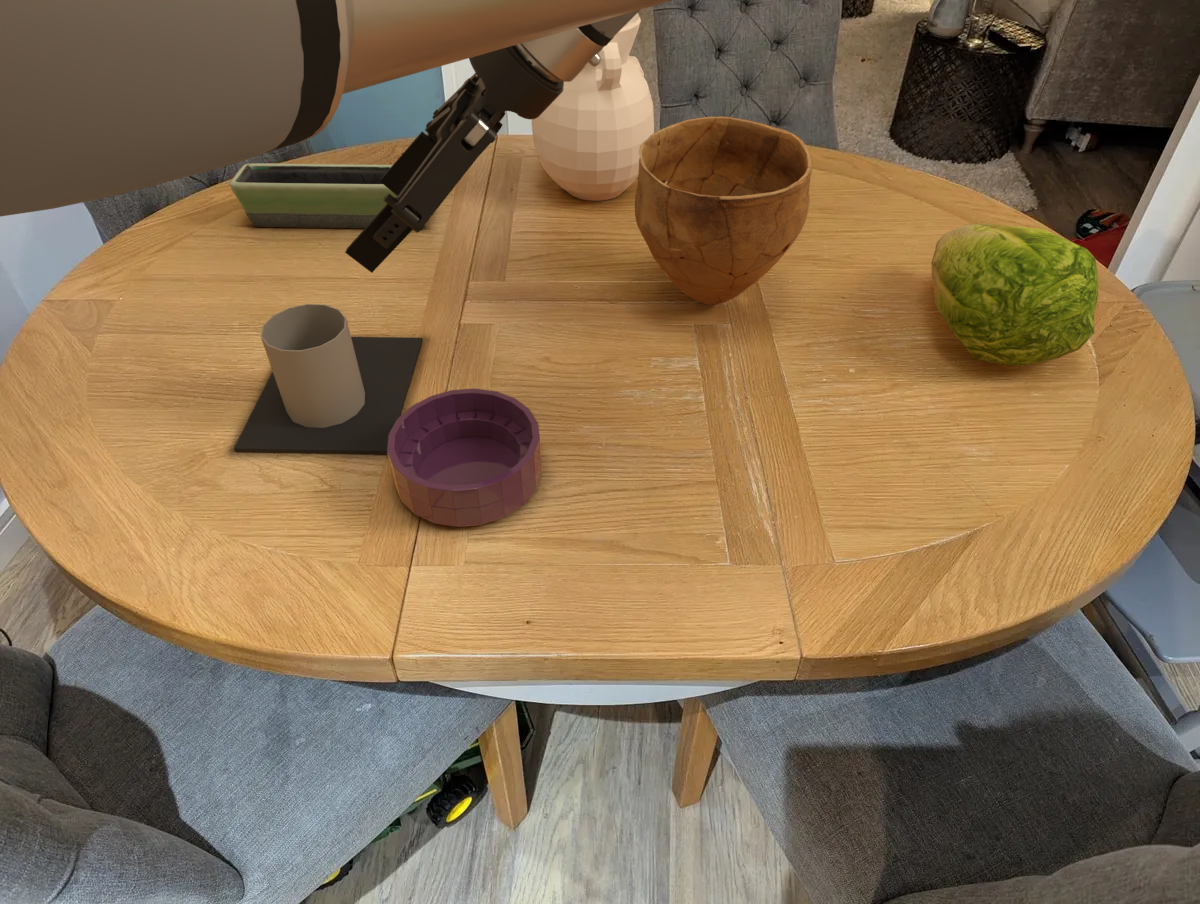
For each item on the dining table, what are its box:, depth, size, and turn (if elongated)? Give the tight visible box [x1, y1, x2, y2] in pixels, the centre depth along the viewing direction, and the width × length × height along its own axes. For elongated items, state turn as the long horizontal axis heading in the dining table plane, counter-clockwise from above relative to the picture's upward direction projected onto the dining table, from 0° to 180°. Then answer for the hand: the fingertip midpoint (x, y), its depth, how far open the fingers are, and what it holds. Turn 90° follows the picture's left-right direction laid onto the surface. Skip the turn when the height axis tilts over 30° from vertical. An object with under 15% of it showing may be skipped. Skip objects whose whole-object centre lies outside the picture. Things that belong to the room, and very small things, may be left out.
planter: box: [229, 162, 398, 229], centre depth 117 cm, size 28×7×7 cm, turn 89°
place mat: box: [233, 336, 424, 455], centre depth 90 cm, size 20×16×1 cm
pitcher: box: [531, 12, 655, 202], centre depth 120 cm, size 19×18×25 cm
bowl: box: [634, 115, 813, 305], centre depth 98 cm, size 21×20×20 cm
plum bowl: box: [387, 388, 543, 528], centre depth 79 cm, size 14×14×6 cm
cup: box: [260, 303, 365, 428], centre depth 85 cm, size 8×8×10 cm
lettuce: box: [931, 222, 1099, 367], centre depth 97 cm, size 17×24×14 cm
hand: (376, 222), depth 74 cm, fingers open, 13 cm apart
